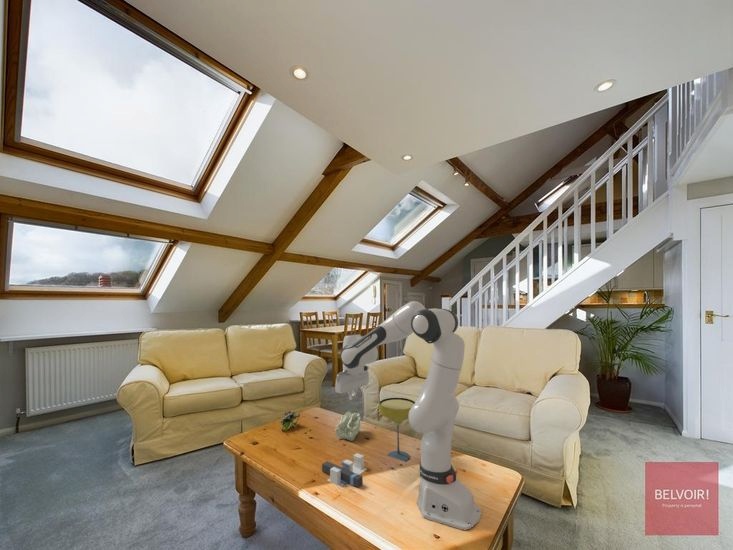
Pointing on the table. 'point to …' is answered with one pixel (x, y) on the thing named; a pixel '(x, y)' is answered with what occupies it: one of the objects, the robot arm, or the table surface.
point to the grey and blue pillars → (349, 465)
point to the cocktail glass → (396, 419)
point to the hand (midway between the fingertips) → (352, 398)
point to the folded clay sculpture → (348, 426)
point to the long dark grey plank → (344, 474)
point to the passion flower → (289, 420)
